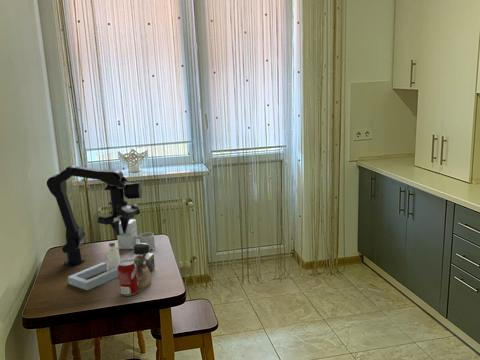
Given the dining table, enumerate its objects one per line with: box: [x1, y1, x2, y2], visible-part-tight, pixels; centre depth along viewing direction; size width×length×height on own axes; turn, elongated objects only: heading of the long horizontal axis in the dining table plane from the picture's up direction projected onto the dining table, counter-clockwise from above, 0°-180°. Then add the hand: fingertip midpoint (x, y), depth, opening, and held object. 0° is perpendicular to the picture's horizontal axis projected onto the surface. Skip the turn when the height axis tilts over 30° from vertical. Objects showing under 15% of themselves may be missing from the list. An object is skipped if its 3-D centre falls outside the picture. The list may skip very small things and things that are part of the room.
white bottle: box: [106, 242, 121, 271], centre depth 199 cm, size 5×5×12 cm
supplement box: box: [116, 218, 139, 250], centre depth 227 cm, size 7×7×13 cm
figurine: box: [133, 253, 152, 289], centre depth 184 cm, size 7×7×12 cm
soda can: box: [117, 259, 140, 297], centre depth 177 cm, size 7×7×12 cm
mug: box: [134, 232, 156, 251], centre depth 224 cm, size 10×7×7 cm
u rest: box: [67, 261, 118, 291], centre depth 192 cm, size 12×17×3 cm
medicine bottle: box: [130, 242, 156, 275], centre depth 195 cm, size 7×7×12 cm
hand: (121, 234), depth 209 cm, fingers open, 3 cm apart
